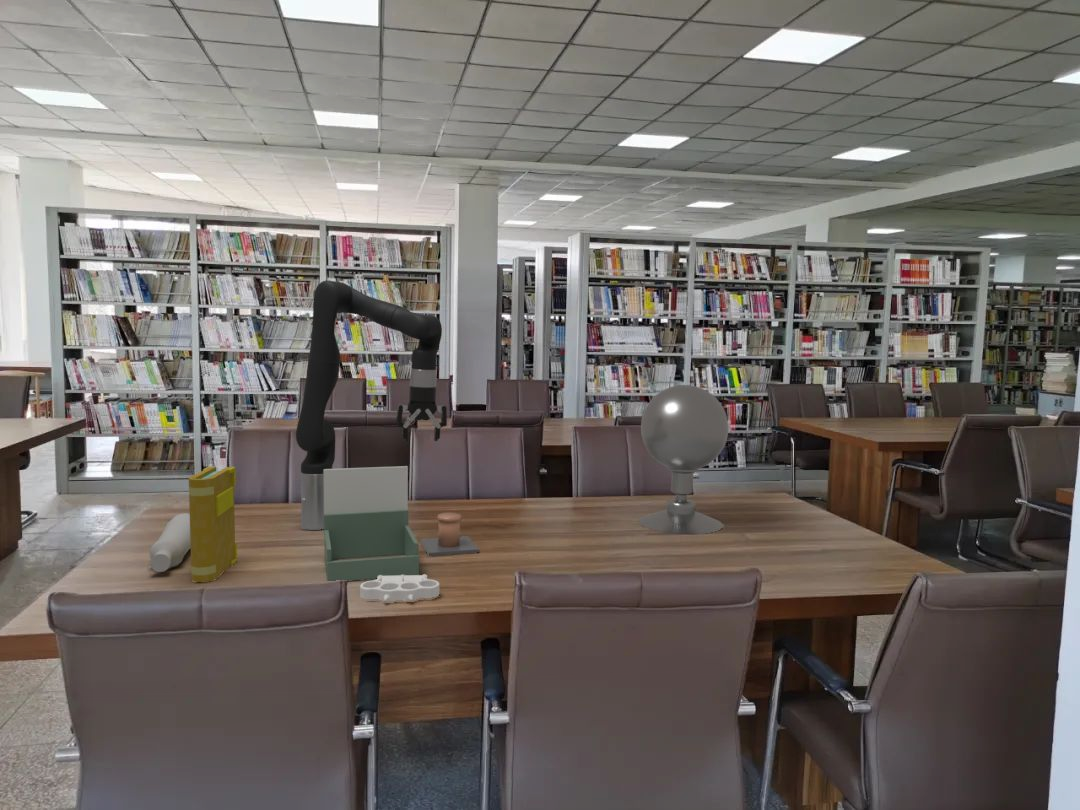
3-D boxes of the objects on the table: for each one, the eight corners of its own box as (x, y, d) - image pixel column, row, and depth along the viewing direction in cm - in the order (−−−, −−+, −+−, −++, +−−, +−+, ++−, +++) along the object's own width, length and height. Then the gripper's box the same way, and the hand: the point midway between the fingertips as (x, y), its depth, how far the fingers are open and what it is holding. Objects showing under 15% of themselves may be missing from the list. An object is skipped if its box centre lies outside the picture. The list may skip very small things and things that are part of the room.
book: (210, 561, 195) (208, 466, 193) (237, 561, 196) (235, 466, 193) (185, 583, 178) (182, 479, 176) (214, 583, 179) (212, 479, 176)
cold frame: (327, 583, 180) (326, 485, 178) (324, 557, 200) (323, 469, 197) (418, 575, 187) (419, 480, 185) (407, 551, 207) (407, 466, 204)
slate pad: (428, 556, 203) (428, 553, 203) (420, 542, 216) (420, 539, 216) (479, 552, 207) (479, 549, 207) (468, 539, 220) (468, 535, 220)
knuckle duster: (440, 584, 182) (438, 606, 167) (365, 586, 180) (356, 608, 166) (440, 571, 182) (438, 592, 167) (364, 572, 180) (356, 593, 165)
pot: (439, 548, 207) (439, 519, 206) (435, 541, 213) (435, 513, 212) (462, 546, 209) (463, 518, 208) (458, 540, 215) (458, 512, 214)
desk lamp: (628, 527, 236) (632, 385, 232) (649, 509, 262) (653, 380, 257) (716, 538, 226) (723, 390, 222) (729, 518, 252) (735, 384, 247)
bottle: (161, 532, 209) (131, 569, 180) (180, 505, 210) (153, 538, 181) (191, 548, 212) (166, 587, 183) (210, 522, 212) (188, 556, 183)
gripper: (445, 384, 220) (443, 438, 222) (396, 383, 216) (394, 438, 218) (450, 386, 213) (447, 443, 215) (399, 385, 209) (397, 442, 211)
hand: (420, 440), depth 216 cm, fingers open, 8 cm apart
